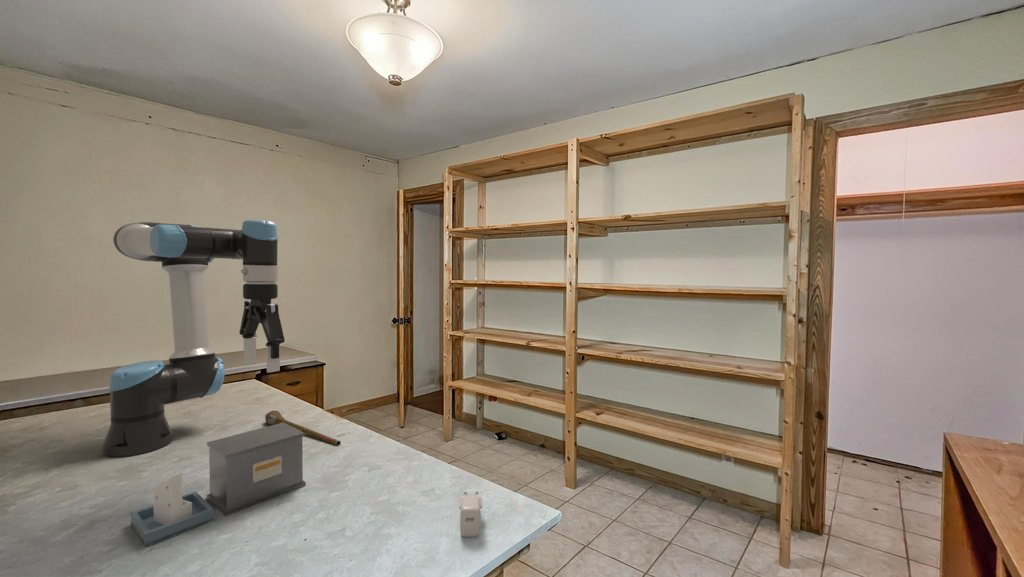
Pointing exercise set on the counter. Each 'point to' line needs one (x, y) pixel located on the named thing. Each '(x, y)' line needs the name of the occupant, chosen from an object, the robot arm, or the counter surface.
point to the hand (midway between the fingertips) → (261, 367)
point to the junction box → (254, 467)
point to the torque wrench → (297, 427)
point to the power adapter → (470, 515)
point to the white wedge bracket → (170, 501)
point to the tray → (158, 532)
